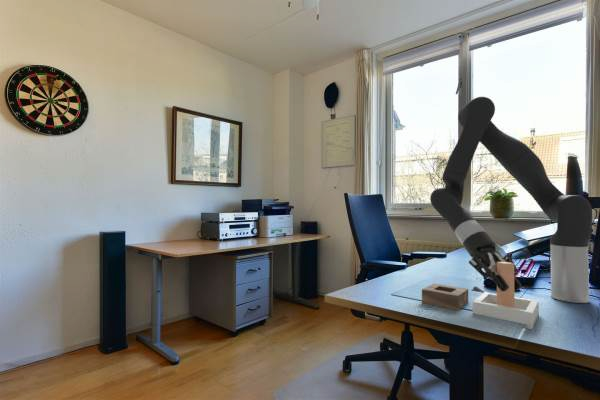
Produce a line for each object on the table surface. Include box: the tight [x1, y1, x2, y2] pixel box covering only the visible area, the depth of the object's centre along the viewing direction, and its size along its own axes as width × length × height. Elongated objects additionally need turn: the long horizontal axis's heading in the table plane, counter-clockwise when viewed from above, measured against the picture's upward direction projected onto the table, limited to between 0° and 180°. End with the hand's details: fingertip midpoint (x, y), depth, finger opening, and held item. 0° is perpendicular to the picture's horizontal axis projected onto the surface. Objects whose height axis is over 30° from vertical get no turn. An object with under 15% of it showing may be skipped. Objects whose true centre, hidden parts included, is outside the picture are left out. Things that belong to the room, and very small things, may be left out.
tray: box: [472, 291, 540, 330], centre depth 85 cm, size 13×13×4 cm
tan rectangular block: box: [496, 262, 516, 308], centre depth 85 cm, size 4×4×12 cm
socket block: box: [421, 282, 469, 312], centre depth 94 cm, size 10×10×5 cm
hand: (512, 288), depth 83 cm, fingers closed on tan rectangular block, 4 cm apart
